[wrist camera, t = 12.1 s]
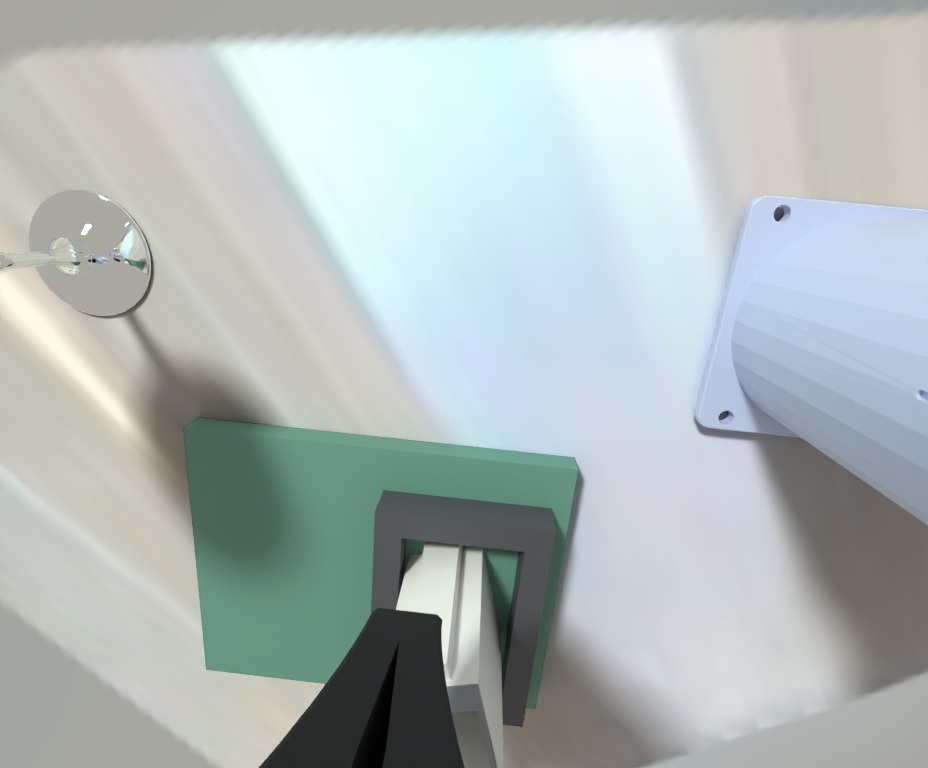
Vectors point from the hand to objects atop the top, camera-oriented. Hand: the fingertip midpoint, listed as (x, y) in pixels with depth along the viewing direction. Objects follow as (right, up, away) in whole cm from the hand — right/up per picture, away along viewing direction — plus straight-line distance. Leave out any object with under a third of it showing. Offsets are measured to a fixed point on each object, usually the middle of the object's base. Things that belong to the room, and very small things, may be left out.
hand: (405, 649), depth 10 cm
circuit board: (-2, -2, +11) cm, 12 cm away
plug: (+1, -3, +10) cm, 11 cm away
